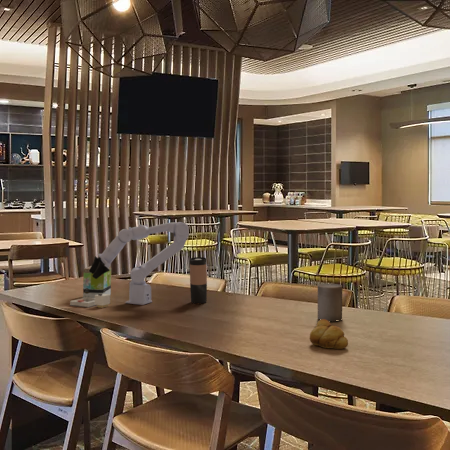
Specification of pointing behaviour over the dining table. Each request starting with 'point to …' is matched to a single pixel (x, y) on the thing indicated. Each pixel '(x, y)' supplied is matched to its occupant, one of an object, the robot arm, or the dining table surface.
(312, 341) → the bread roll
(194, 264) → the travel mug
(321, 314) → the pillar candle
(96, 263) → the robot arm
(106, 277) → the tea box
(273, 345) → the dining table surface
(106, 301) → the plug
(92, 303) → the socket plate
